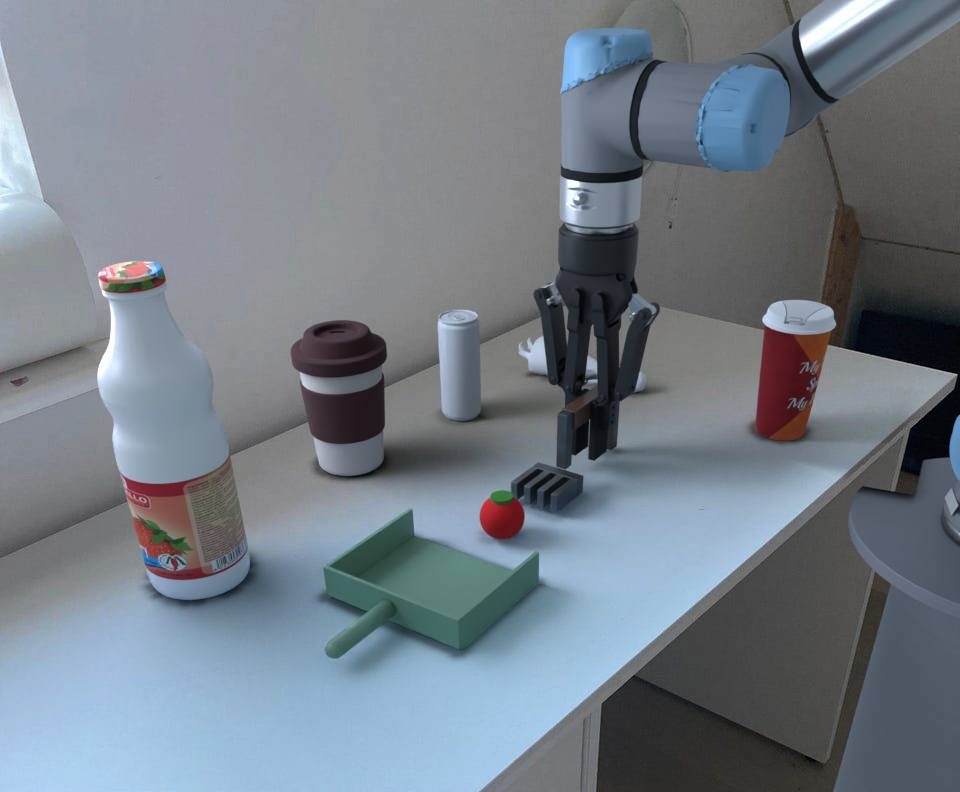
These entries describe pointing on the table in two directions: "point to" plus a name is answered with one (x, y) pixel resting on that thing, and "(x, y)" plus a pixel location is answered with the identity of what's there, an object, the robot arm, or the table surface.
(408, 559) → the green dustpan
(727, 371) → the table surface
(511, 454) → the table surface
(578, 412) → the fork
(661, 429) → the table surface
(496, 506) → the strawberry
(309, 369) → the coffee cup
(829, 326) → the paper cup
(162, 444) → the fruit juice
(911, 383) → the table surface
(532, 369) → the woman figurine
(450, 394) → the beverage can
